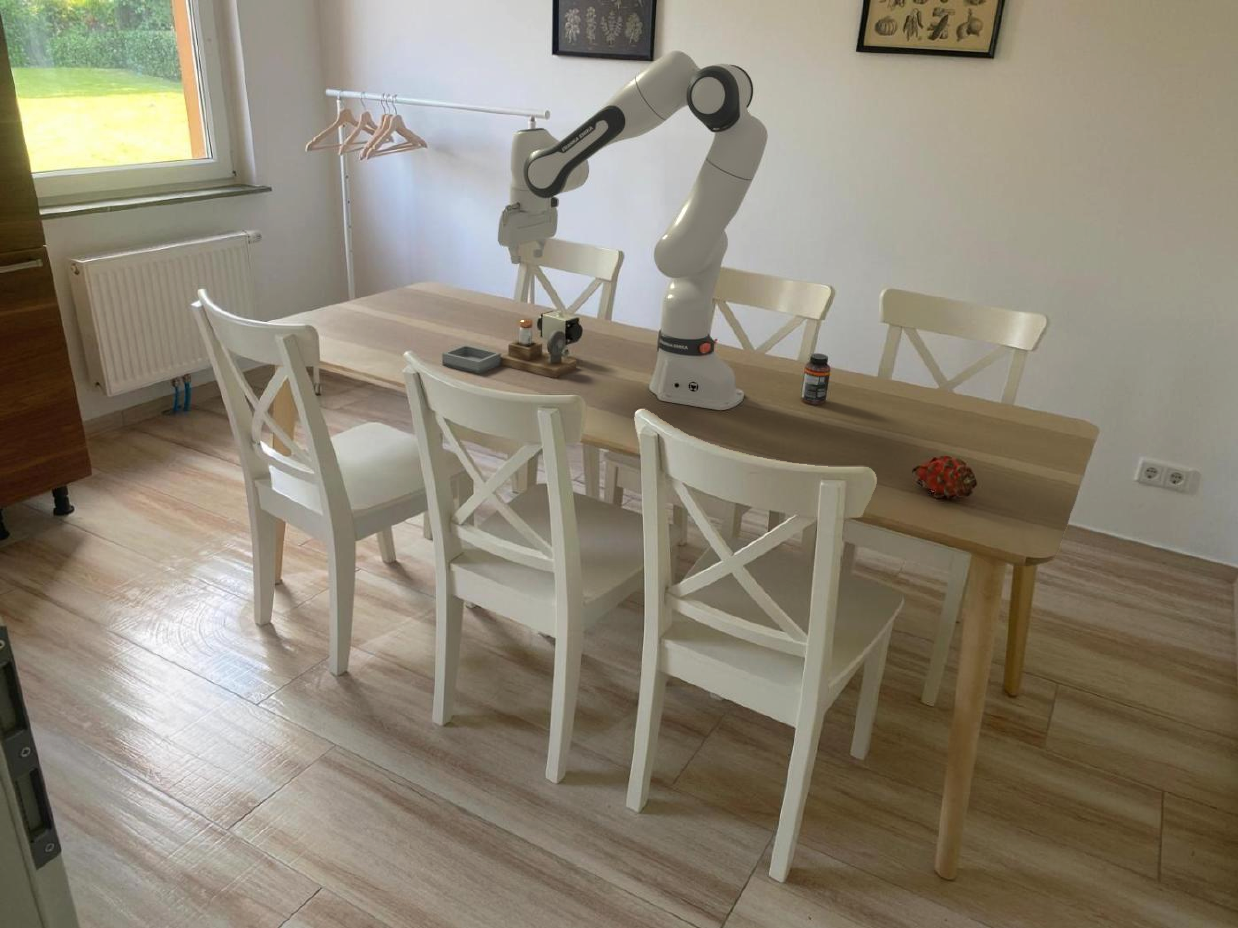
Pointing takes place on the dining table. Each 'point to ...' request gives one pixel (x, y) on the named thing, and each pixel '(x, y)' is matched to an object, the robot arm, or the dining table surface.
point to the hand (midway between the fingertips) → (527, 260)
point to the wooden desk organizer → (540, 357)
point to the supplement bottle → (815, 380)
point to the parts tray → (471, 359)
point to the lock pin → (525, 332)
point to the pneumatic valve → (560, 327)
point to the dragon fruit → (946, 477)
